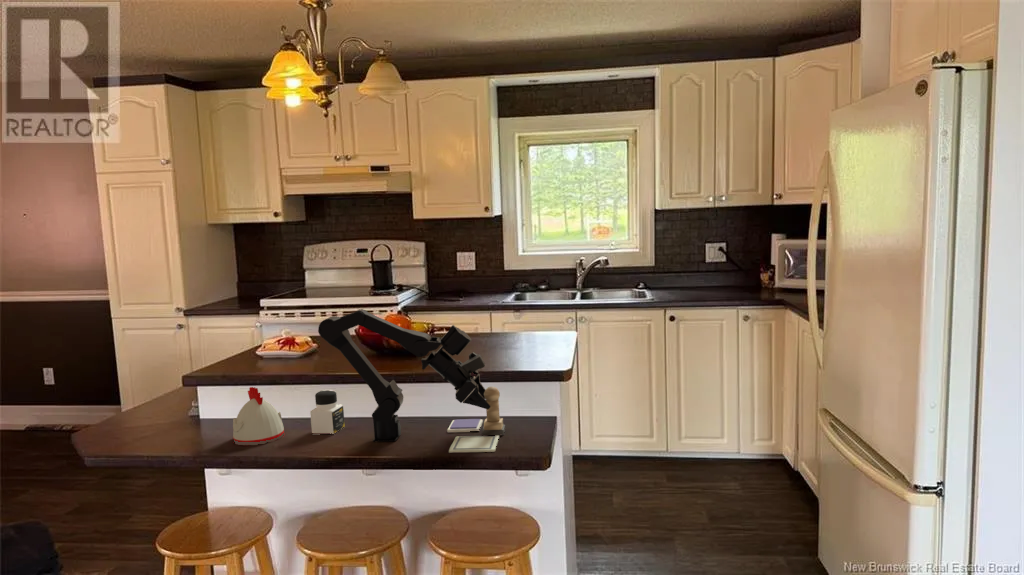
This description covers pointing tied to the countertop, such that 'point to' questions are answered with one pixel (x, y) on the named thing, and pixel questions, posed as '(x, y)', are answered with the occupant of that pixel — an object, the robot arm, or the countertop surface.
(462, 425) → the ink pad
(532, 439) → the countertop surface
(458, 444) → the marked board
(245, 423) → the kitchen timer
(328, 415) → the medicine bottle
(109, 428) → the countertop surface
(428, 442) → the countertop surface
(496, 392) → the hand stamp
